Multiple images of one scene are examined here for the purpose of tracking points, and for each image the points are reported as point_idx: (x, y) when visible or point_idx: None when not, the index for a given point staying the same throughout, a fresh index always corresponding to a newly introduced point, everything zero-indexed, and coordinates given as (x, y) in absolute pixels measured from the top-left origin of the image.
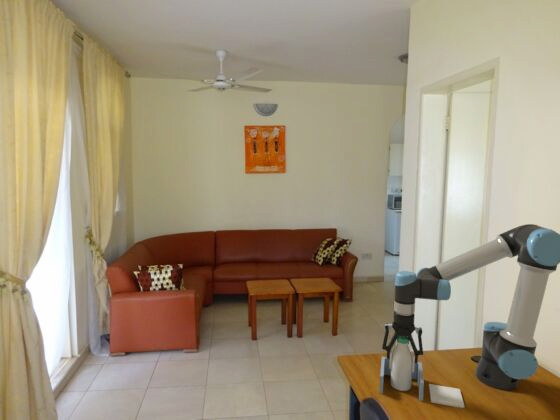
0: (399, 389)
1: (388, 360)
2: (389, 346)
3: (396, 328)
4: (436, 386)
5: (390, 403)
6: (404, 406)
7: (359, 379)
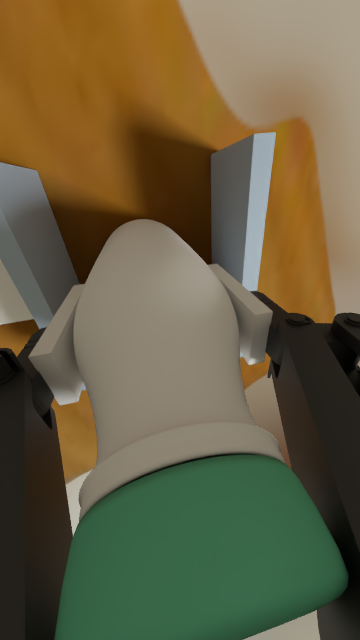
0: (144, 219)
1: None
2: (324, 351)
3: None
4: (8, 313)
5: (166, 60)
6: (88, 57)
7: (298, 236)
